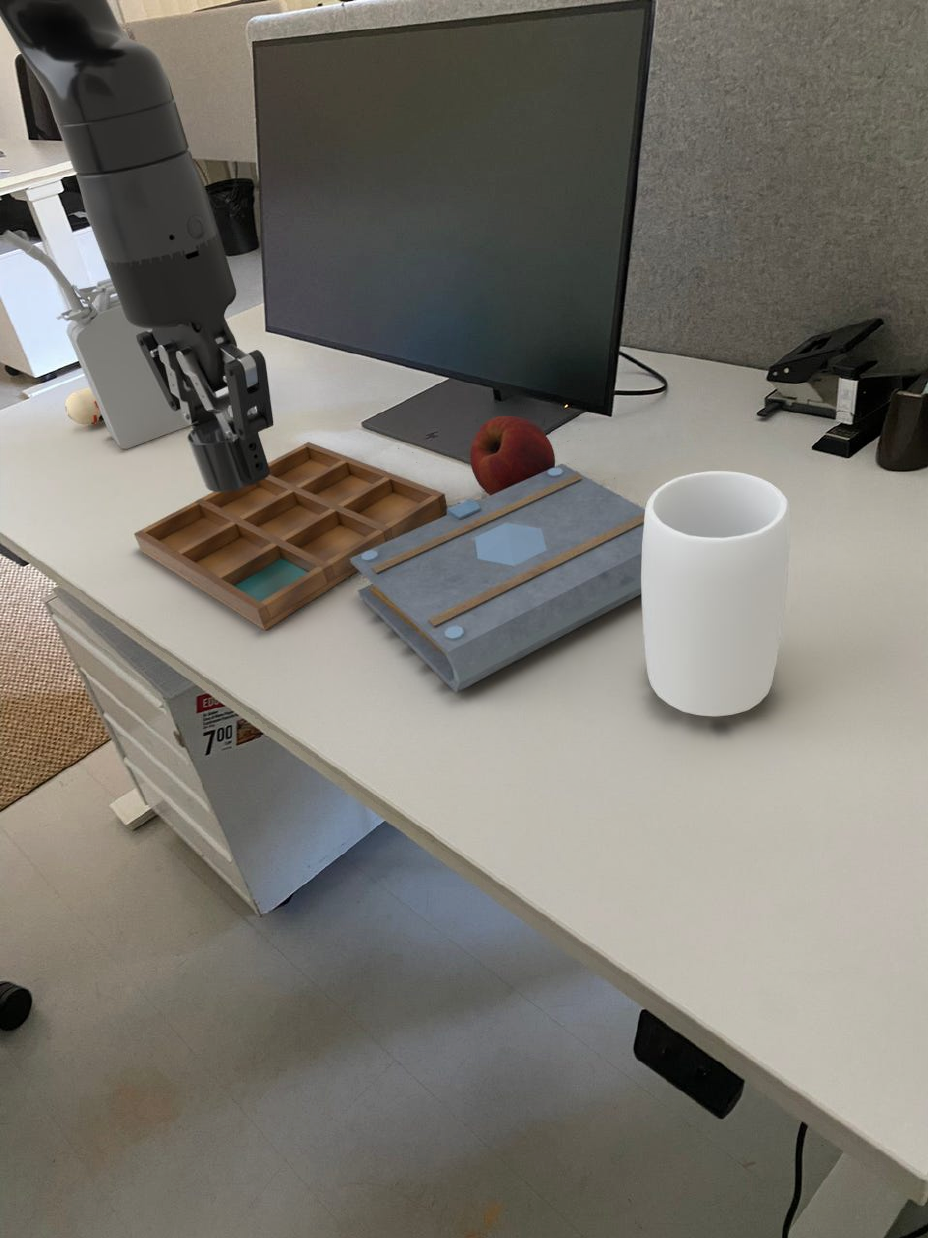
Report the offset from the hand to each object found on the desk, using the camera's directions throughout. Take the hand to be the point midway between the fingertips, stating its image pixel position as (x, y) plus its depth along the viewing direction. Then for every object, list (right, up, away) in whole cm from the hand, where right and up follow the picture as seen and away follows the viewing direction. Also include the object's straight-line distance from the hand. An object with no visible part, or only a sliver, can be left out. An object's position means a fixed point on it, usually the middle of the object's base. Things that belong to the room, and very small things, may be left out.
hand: (238, 470), depth 67 cm
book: (+22, -9, +3) cm, 24 cm away
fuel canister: (-20, +12, +39) cm, 46 cm away
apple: (+22, 0, +15) cm, 27 cm away
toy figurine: (-27, +15, +46) cm, 55 cm away
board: (+1, -3, +15) cm, 16 cm away
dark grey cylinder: (0, -1, 0) cm, 1 cm away
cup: (+34, -16, -9) cm, 38 cm away
